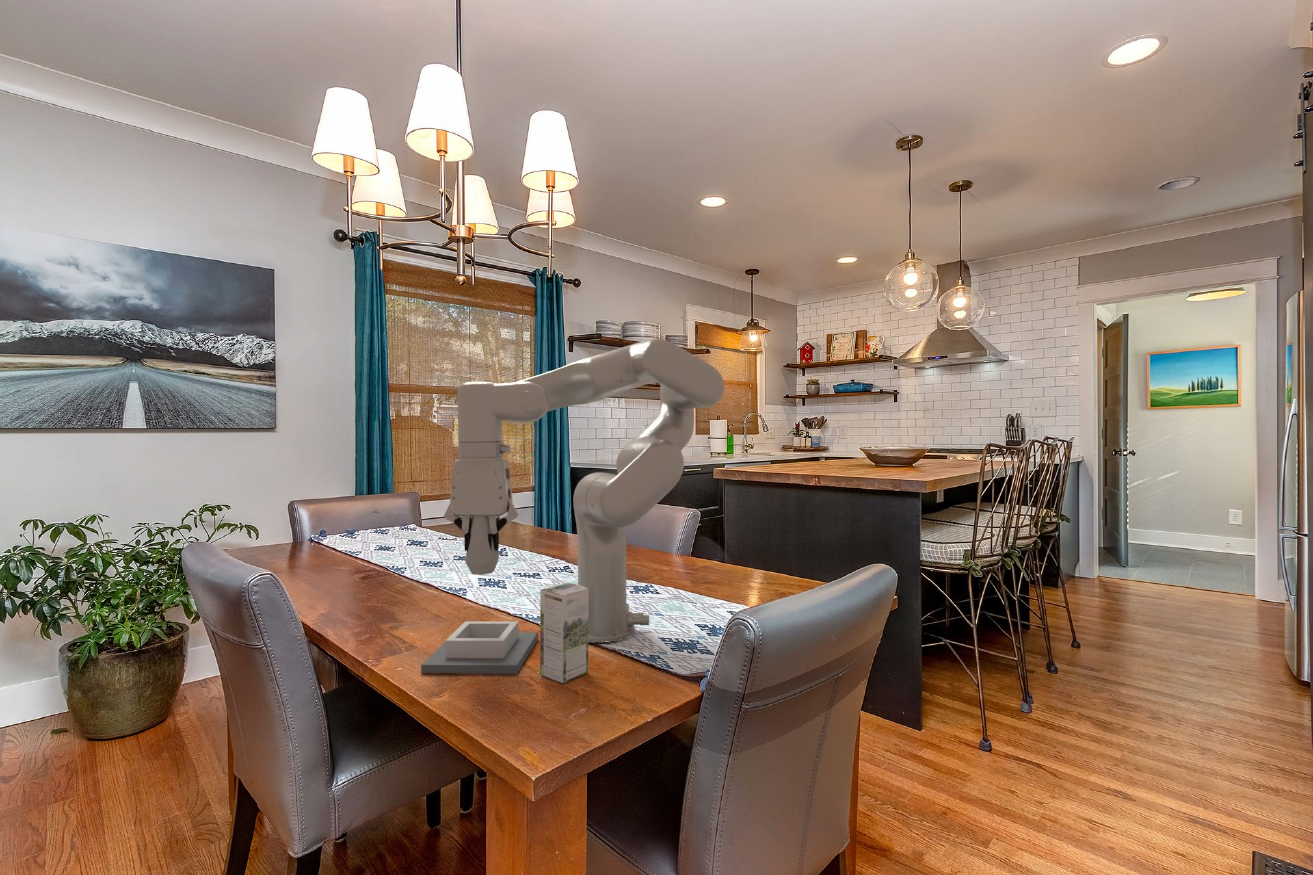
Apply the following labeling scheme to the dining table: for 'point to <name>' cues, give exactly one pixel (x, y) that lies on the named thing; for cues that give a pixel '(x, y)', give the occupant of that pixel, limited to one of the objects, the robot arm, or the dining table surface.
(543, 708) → the dining table surface
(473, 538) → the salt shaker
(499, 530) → the robot arm
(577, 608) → the syrup box
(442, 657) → the grey square base
